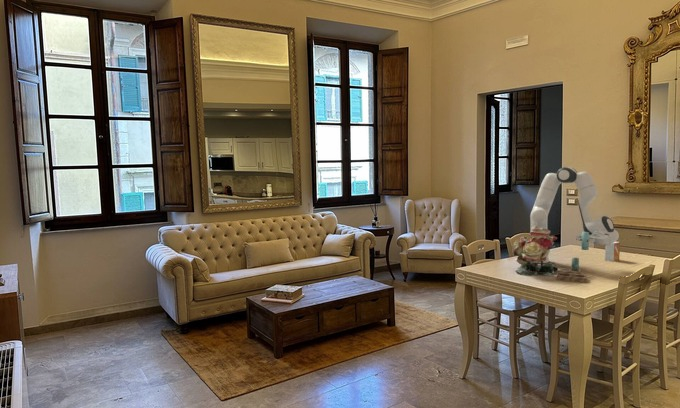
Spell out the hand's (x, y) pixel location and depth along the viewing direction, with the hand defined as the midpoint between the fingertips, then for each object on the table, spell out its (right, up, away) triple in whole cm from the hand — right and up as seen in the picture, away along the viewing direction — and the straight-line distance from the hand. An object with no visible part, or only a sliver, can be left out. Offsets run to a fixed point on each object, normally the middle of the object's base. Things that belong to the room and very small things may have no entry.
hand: (584, 240), depth 300 cm
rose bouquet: (-29, -21, +6) cm, 37 cm away
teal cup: (-10, -21, -1) cm, 23 cm away
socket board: (-15, -23, -14) cm, 31 cm away
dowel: (+1, -6, +1) cm, 6 cm away
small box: (+39, -17, +37) cm, 56 cm away
